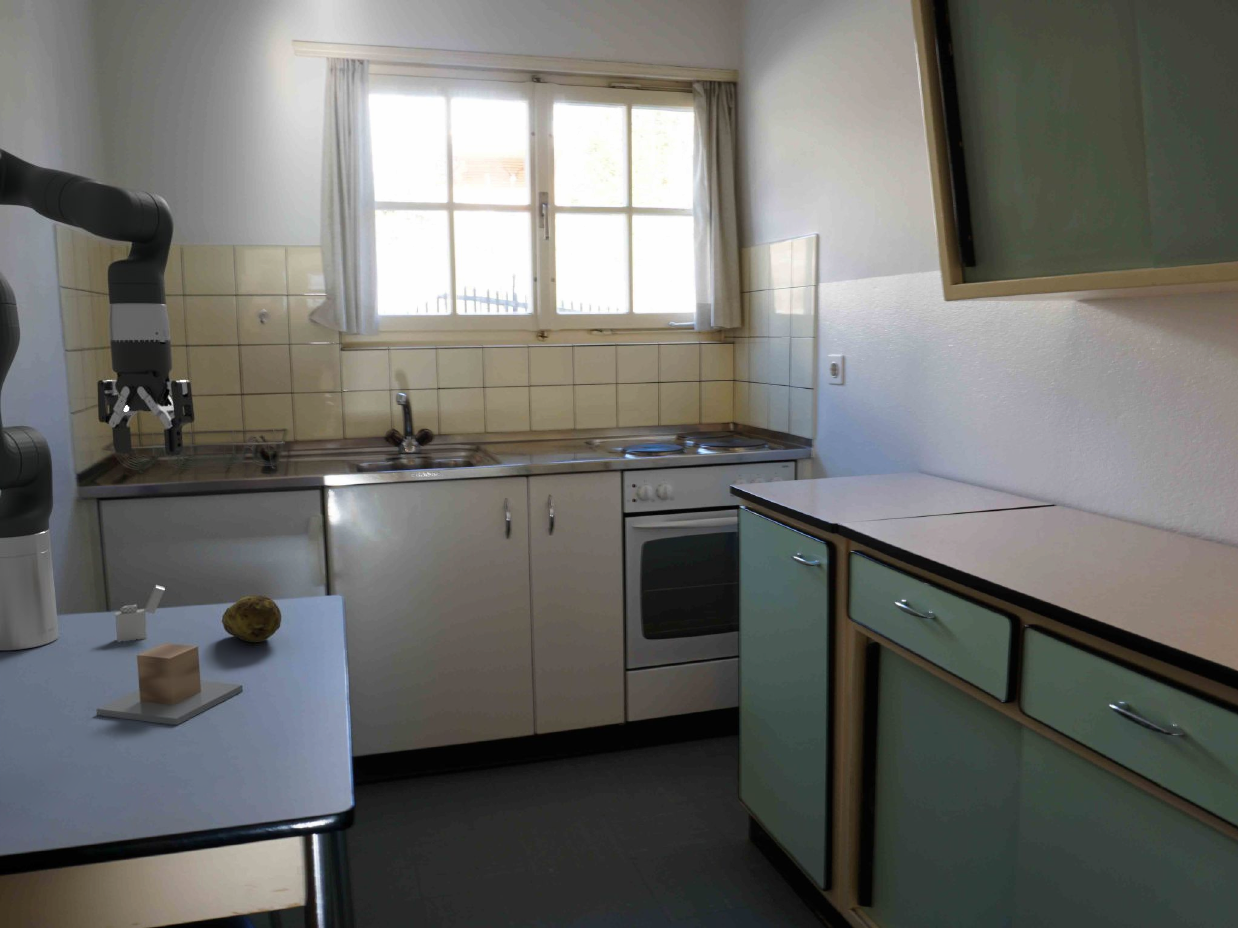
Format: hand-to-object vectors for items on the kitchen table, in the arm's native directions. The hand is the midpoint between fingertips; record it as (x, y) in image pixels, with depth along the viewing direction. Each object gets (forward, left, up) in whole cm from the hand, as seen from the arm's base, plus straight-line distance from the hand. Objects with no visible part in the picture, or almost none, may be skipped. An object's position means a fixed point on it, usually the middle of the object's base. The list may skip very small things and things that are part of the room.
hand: (148, 454), depth 137 cm
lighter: (-12, +9, -30) cm, 34 cm away
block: (+13, -13, -29) cm, 35 cm away
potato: (+7, +11, -30) cm, 33 cm away
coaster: (+13, -13, -30) cm, 35 cm away
